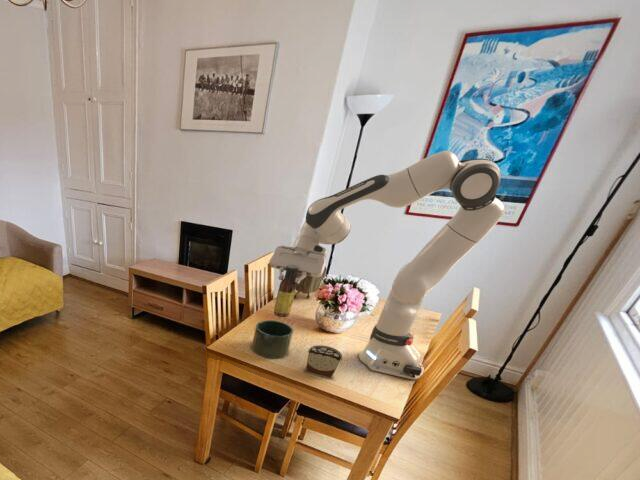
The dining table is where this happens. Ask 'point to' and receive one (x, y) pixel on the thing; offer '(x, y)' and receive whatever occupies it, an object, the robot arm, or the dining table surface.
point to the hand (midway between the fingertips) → (288, 281)
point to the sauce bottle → (286, 292)
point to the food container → (323, 360)
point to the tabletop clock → (309, 283)
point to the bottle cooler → (272, 339)
